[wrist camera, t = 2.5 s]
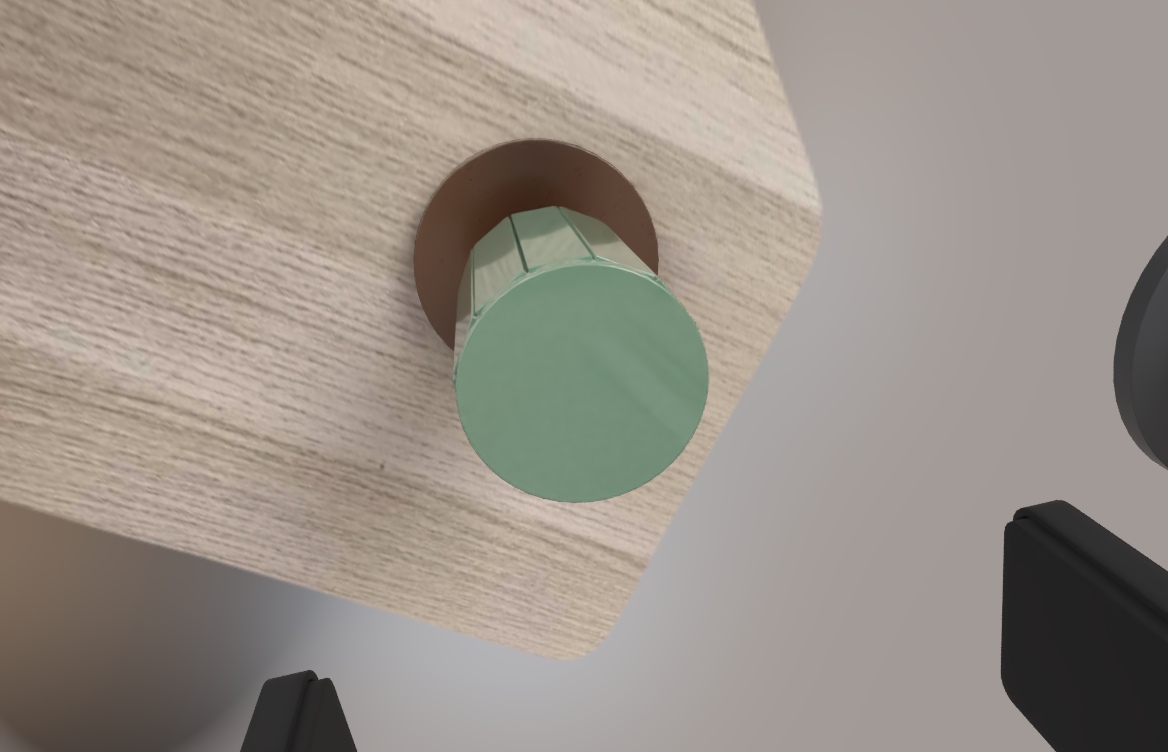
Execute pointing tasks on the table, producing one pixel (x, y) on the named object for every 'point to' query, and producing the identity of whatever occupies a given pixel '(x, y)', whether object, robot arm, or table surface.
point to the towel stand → (517, 211)
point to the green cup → (573, 359)
